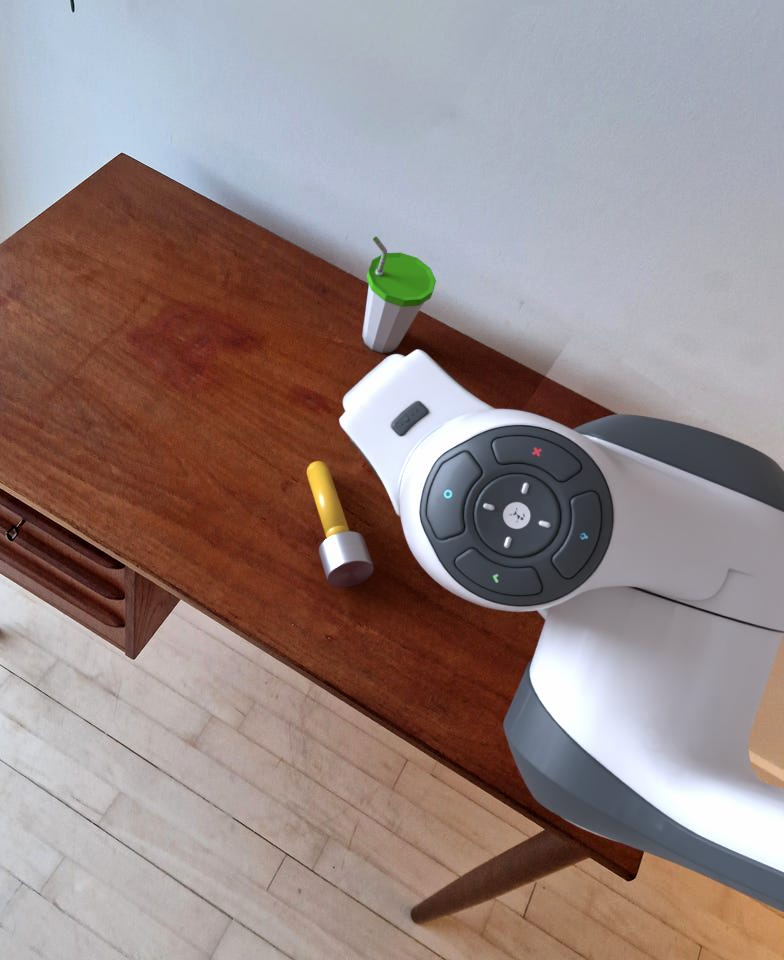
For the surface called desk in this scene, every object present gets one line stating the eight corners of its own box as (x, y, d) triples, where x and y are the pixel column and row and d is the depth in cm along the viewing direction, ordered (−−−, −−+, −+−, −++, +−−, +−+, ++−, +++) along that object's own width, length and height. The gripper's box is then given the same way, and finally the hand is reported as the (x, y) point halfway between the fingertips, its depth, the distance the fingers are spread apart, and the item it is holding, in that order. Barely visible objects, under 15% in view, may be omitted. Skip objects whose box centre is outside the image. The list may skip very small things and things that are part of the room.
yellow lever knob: (383, 567, 81) (345, 458, 90) (351, 555, 78) (315, 443, 87) (349, 592, 83) (315, 482, 92) (317, 581, 80) (285, 469, 89)
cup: (422, 337, 104) (461, 242, 92) (391, 373, 100) (427, 279, 88) (369, 306, 106) (400, 209, 93) (337, 340, 101) (364, 243, 89)
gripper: (648, 599, 46) (592, 567, 60) (401, 326, 48) (401, 355, 61) (560, 672, 47) (524, 624, 61) (318, 401, 48) (336, 413, 62)
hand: (460, 487), depth 61 cm, fingers closed
